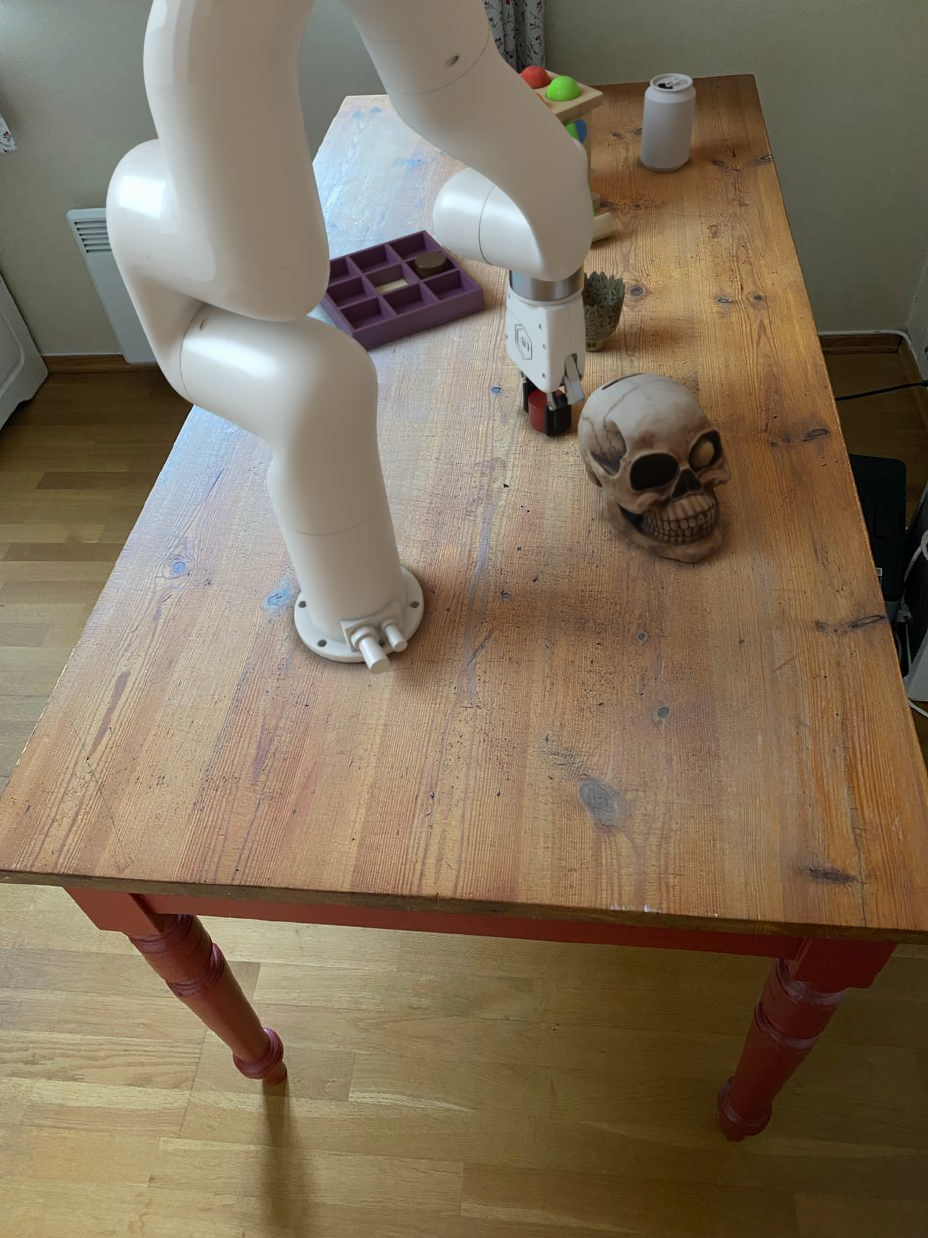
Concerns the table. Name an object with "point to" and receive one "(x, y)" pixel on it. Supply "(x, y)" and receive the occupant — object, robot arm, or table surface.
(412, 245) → the board
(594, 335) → the cup
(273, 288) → the robot arm
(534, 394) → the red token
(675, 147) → the can
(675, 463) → the coin bank
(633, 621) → the table surface
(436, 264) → the walnut token
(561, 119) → the pounding bench toy
